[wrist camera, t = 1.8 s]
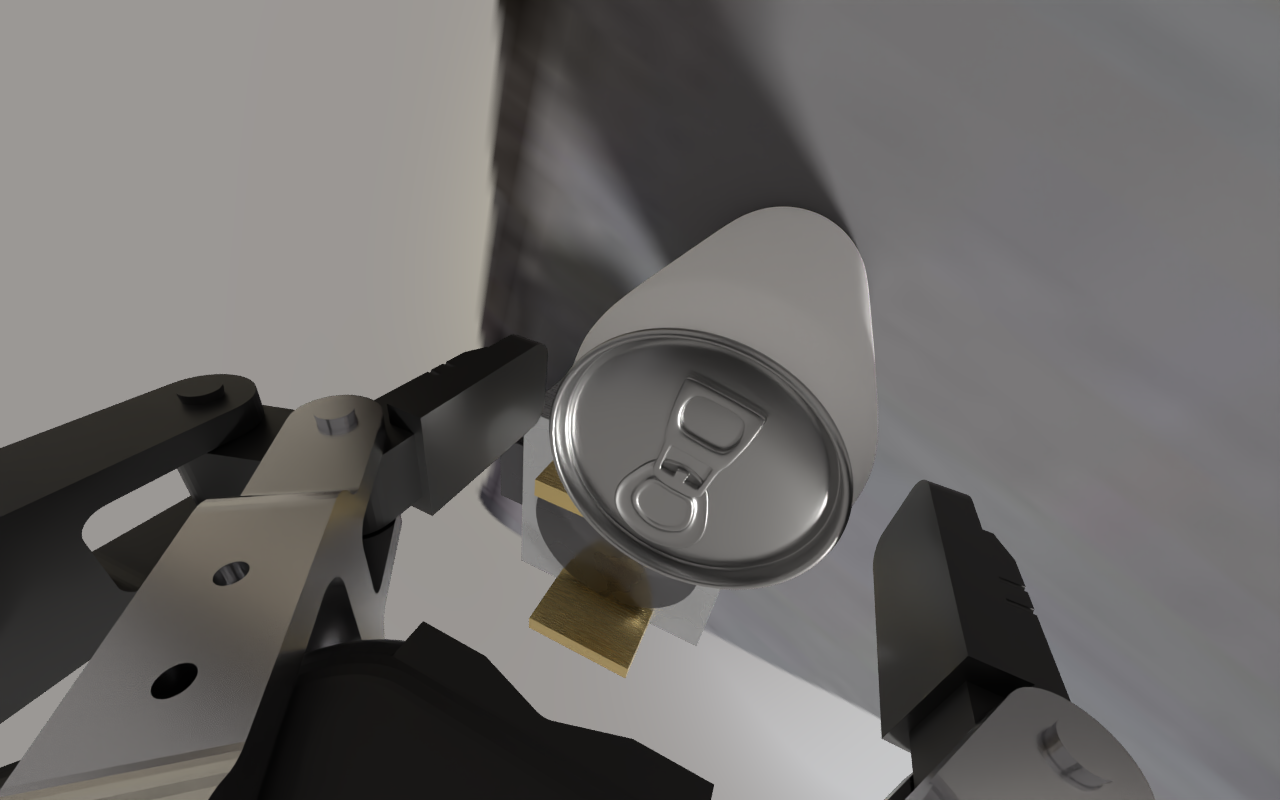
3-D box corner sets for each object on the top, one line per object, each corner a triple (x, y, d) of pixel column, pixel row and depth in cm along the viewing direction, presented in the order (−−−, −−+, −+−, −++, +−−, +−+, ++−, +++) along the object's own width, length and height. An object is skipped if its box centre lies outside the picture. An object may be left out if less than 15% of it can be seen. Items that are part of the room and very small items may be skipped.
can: (672, 324, 20) (505, 496, 11) (739, 173, 16) (573, 226, 7) (806, 395, 19) (757, 652, 10) (909, 253, 16) (996, 443, 6)
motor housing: (547, 350, 24) (432, 430, 17) (776, 431, 21) (740, 564, 14) (540, 488, 29) (451, 588, 23) (720, 568, 26) (676, 708, 20)
